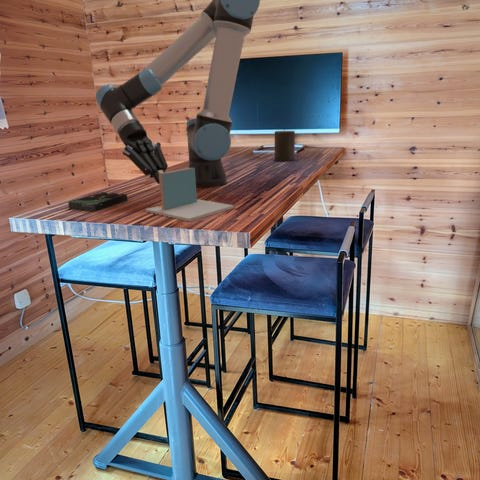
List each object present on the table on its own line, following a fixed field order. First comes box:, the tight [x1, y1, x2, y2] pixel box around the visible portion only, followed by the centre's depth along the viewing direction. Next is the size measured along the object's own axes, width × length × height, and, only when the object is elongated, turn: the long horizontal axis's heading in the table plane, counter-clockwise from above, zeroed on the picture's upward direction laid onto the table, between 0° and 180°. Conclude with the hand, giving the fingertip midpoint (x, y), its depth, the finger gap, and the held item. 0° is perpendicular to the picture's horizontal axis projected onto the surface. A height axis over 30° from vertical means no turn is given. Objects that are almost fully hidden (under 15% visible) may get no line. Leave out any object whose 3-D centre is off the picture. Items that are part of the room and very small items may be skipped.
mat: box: [145, 198, 234, 222], centre depth 125 cm, size 17×18×1 cm
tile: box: [159, 167, 198, 210], centre depth 126 cm, size 12×2×10 cm, turn 139°
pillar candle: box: [274, 128, 296, 162], centre depth 213 cm, size 10×10×15 cm
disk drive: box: [67, 191, 128, 212], centre depth 135 cm, size 10×3×15 cm
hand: (169, 190), depth 128 cm, fingers closed
